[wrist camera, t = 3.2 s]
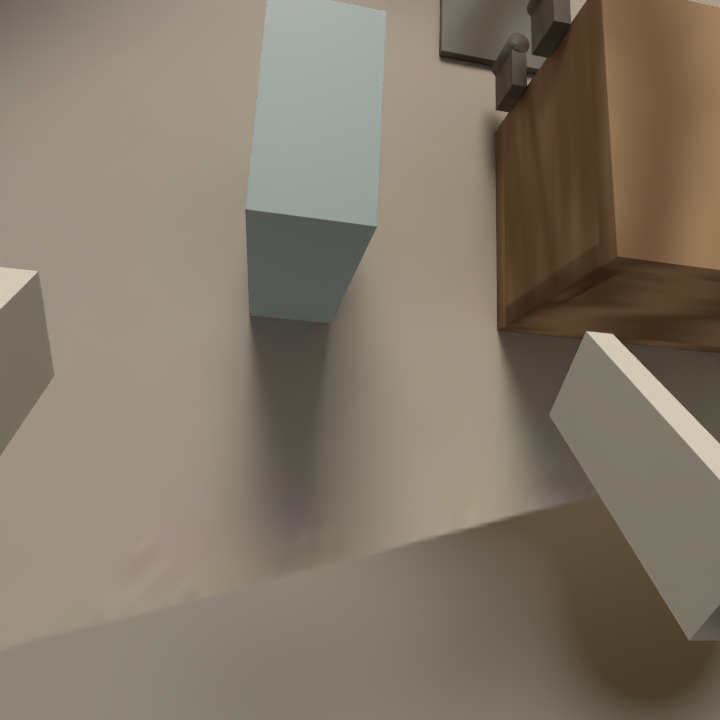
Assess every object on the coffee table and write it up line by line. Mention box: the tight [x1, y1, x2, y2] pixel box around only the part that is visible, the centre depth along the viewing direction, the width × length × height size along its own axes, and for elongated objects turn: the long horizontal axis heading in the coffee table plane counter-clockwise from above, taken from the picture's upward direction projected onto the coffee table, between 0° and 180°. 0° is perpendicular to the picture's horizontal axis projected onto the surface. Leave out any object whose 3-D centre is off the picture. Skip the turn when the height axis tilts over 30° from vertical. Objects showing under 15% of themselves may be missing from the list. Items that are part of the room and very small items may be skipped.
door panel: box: [245, 0, 386, 323], centre depth 23 cm, size 8×4×11 cm, turn 177°
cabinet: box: [439, 0, 720, 353], centre depth 28 cm, size 20×26×10 cm
